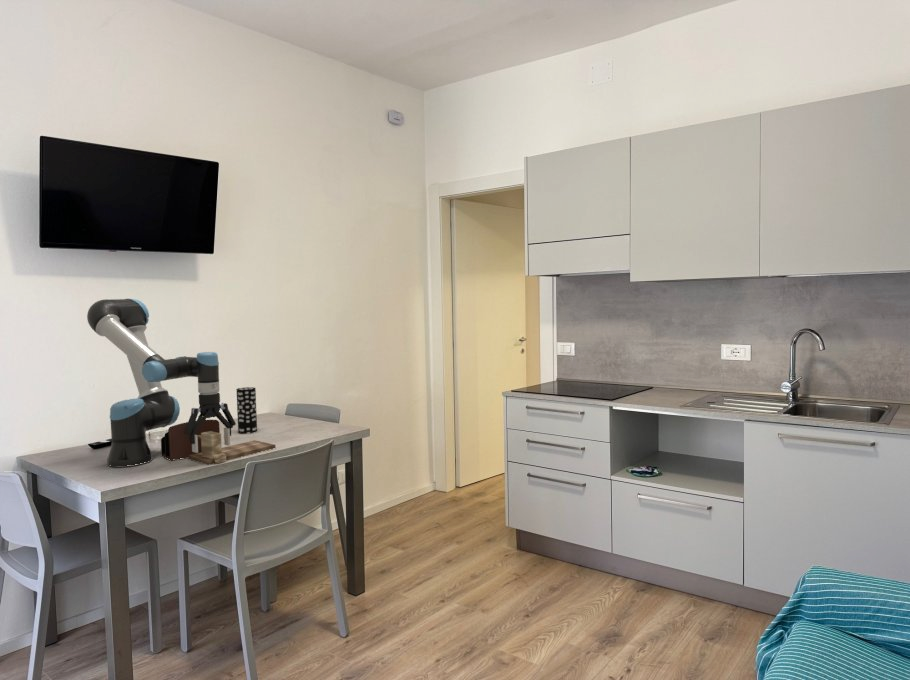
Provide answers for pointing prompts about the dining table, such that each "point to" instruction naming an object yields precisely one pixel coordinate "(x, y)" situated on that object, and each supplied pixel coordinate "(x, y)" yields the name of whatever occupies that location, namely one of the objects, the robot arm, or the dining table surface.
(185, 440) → the letter holder
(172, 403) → the robot arm
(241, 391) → the white-spotted black cylinder
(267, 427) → the dining table surface
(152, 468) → the dining table surface
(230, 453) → the board
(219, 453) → the gauge
